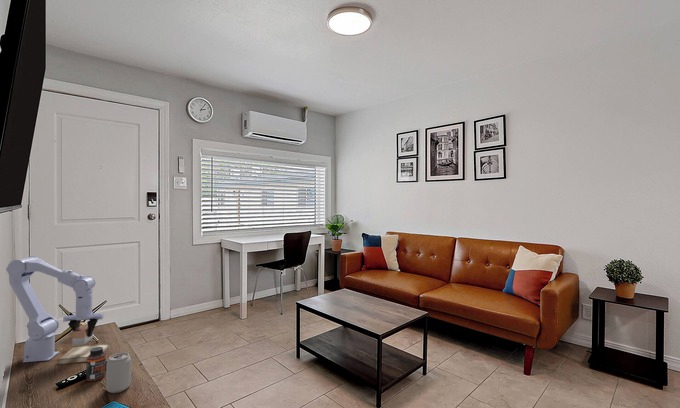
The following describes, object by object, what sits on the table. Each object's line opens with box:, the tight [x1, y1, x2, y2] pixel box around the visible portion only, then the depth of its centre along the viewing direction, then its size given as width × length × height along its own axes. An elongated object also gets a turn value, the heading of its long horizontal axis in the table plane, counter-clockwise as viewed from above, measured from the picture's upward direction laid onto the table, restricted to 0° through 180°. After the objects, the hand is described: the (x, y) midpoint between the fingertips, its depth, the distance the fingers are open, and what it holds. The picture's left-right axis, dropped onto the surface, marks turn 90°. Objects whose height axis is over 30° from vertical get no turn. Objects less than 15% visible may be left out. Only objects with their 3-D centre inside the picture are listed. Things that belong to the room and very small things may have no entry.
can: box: [105, 352, 132, 394], centre depth 123 cm, size 8×8×12 cm
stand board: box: [57, 343, 111, 365], centre depth 149 cm, size 14×14×2 cm
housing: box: [71, 323, 94, 347], centre depth 148 cm, size 4×8×6 cm, turn 14°
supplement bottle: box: [85, 347, 107, 382], centre depth 130 cm, size 6×6×11 cm
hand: (83, 336), depth 148 cm, fingers closed on housing, 4 cm apart
